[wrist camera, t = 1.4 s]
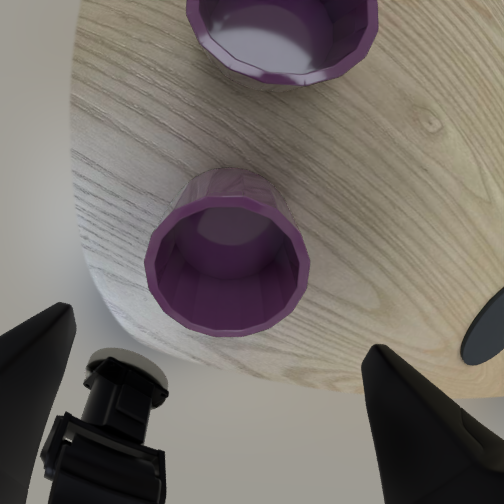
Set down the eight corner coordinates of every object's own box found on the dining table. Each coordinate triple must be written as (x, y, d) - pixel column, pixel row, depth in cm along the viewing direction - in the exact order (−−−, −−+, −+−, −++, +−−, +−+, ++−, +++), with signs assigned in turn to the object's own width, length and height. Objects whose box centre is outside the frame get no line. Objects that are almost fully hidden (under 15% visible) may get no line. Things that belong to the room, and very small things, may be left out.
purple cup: (230, 297, 17) (229, 357, 13) (145, 228, 15) (115, 276, 11) (314, 227, 15) (340, 275, 11) (228, 140, 13) (224, 157, 9)
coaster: (469, 374, 24) (471, 377, 23) (450, 335, 20) (453, 339, 19) (532, 314, 21) (534, 317, 20) (528, 258, 17) (531, 261, 17)
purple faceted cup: (269, 118, 12) (284, 124, 8) (174, 32, 10) (146, 3, 6) (361, 42, 11) (410, 25, 7) (272, -41, 8) (285, -89, 4)
